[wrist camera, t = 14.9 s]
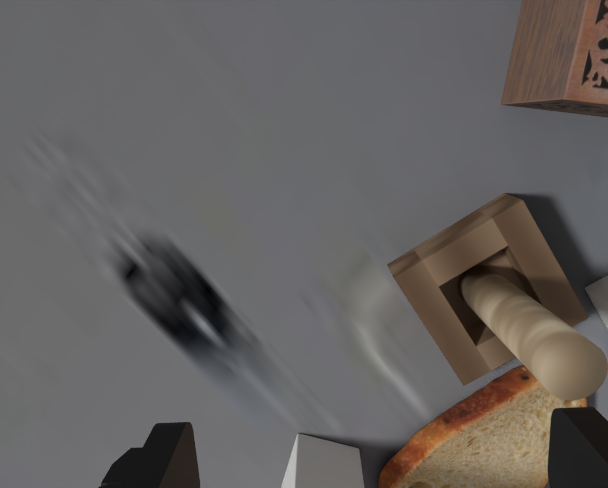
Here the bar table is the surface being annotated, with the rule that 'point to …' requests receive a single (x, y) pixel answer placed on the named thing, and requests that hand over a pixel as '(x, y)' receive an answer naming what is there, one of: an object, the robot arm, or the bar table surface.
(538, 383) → the bread slice
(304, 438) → the milk
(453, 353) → the socket block
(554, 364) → the dowel
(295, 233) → the bar table surface
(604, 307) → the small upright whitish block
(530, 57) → the tissue box cover
